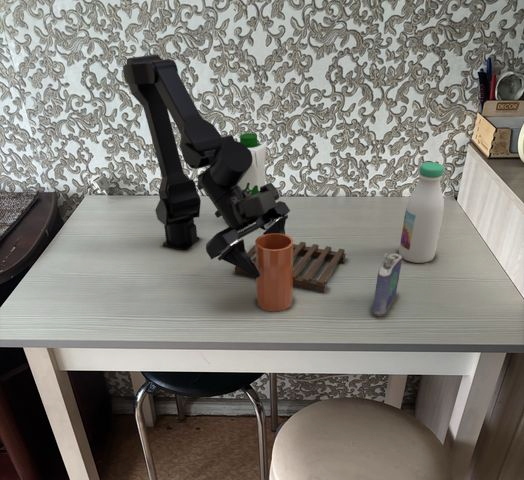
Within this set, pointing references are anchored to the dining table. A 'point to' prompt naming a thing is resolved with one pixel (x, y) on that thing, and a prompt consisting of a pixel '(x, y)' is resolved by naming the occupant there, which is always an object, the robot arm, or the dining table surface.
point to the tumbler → (274, 271)
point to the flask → (387, 283)
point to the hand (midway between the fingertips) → (274, 267)
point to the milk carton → (253, 165)
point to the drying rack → (307, 253)
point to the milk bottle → (423, 216)
